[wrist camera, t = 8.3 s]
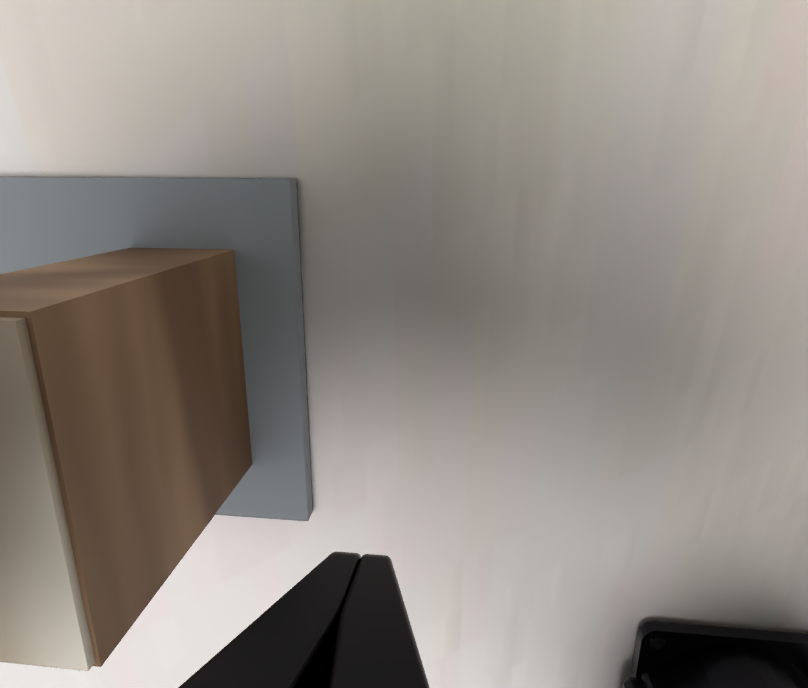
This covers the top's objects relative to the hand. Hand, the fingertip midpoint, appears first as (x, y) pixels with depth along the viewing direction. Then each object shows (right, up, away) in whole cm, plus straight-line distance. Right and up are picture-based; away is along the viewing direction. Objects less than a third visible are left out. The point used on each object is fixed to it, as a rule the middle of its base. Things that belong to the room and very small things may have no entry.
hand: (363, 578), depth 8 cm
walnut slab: (-6, +3, +9) cm, 11 cm away
